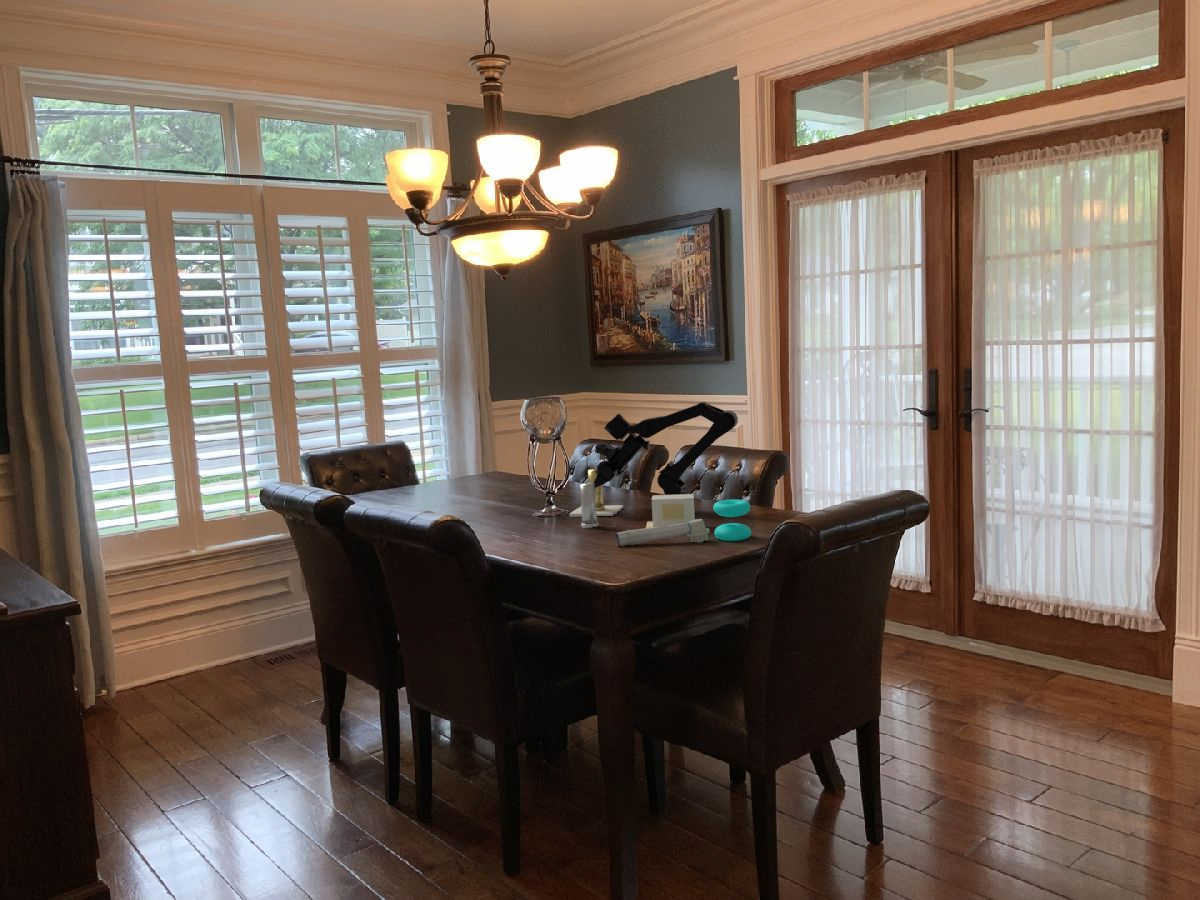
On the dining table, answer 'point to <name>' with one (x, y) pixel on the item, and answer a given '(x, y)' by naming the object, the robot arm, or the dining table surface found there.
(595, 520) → the cylinder
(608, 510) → the plate
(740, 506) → the donuts
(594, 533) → the dining table surface
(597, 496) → the cylinder
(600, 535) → the dining table surface
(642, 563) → the dining table surface
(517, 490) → the dining table surface
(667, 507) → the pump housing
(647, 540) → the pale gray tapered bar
